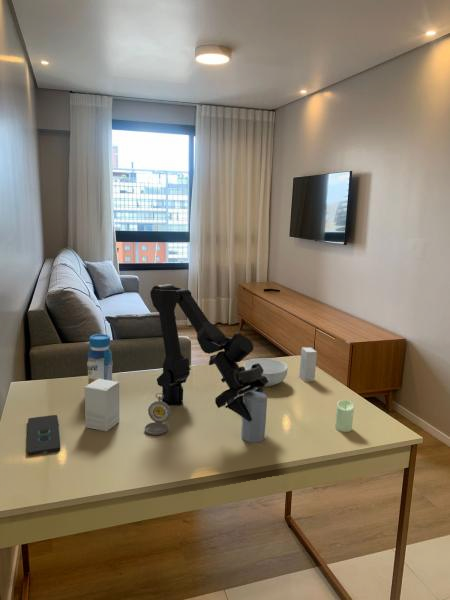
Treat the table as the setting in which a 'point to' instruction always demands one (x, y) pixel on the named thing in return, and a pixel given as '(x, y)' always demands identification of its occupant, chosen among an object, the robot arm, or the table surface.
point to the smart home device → (43, 435)
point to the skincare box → (308, 364)
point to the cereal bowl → (270, 369)
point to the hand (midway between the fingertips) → (257, 417)
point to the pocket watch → (158, 425)
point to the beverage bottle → (99, 358)
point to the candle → (344, 416)
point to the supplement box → (102, 404)
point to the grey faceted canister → (254, 417)
